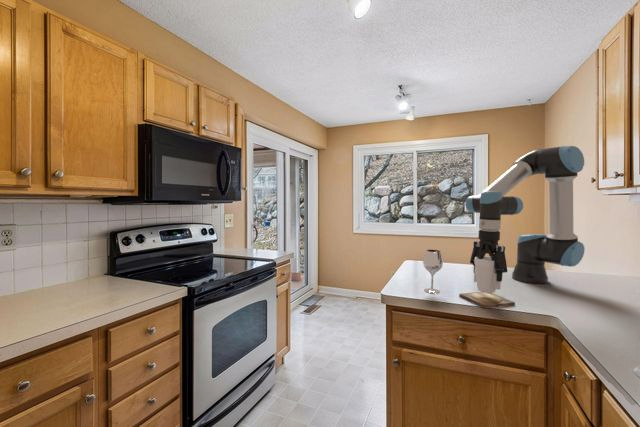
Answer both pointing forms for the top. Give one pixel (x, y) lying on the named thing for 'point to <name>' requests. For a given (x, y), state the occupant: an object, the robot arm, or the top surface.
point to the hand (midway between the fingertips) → (486, 285)
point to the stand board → (486, 299)
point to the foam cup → (485, 274)
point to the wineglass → (432, 266)
